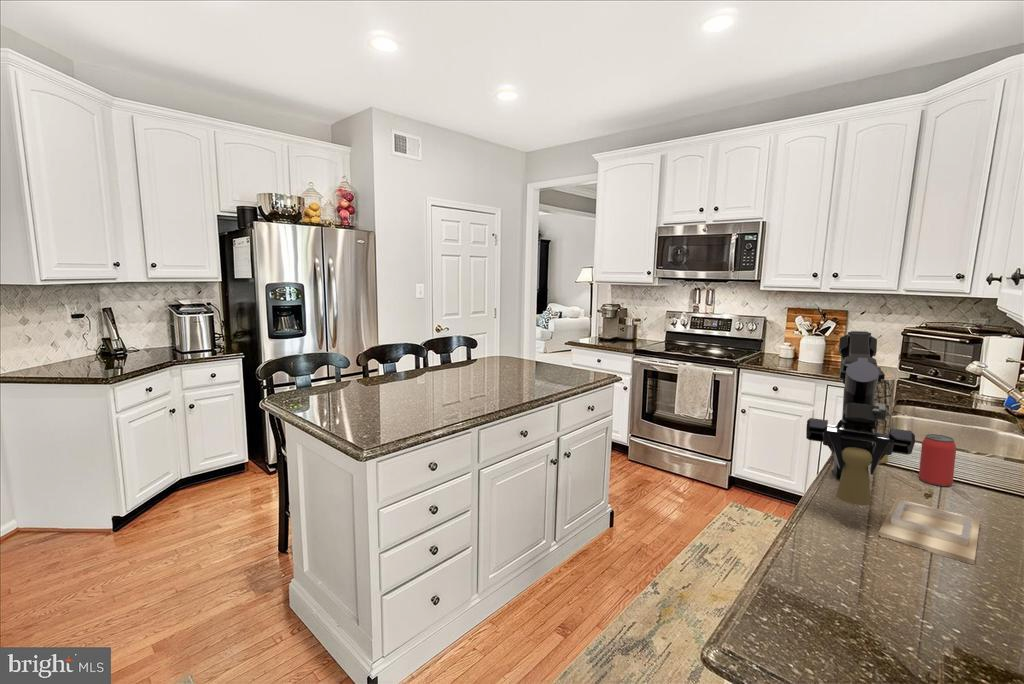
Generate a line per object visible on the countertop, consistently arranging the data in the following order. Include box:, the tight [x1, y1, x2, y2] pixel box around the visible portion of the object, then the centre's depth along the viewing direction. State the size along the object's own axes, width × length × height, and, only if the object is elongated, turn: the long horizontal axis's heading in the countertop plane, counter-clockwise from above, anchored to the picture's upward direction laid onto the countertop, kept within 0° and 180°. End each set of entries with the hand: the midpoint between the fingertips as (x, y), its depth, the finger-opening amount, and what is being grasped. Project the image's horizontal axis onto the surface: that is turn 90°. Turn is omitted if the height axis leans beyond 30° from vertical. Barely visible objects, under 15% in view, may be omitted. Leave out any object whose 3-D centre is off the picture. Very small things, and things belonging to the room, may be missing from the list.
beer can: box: [918, 433, 957, 487], centre depth 122 cm, size 7×7×12 cm
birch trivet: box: [877, 498, 981, 566], centre depth 99 cm, size 14×22×1 cm, turn 134°
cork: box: [835, 447, 872, 506], centre depth 100 cm, size 6×6×11 cm
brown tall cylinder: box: [871, 374, 895, 464], centre depth 137 cm, size 7×7×25 cm
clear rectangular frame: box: [891, 501, 972, 546], centre depth 99 cm, size 12×12×2 cm
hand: (855, 471), depth 99 cm, fingers closed on cork, 5 cm apart
